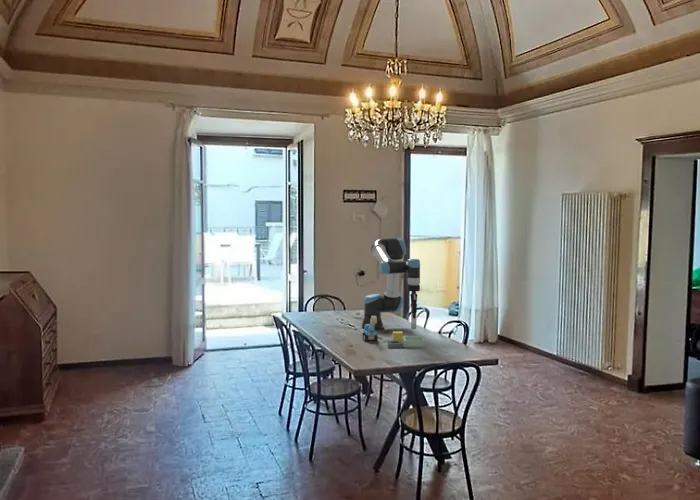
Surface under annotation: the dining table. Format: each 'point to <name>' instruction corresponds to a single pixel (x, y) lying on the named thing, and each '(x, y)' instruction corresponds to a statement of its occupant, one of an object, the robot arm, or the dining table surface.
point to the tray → (413, 342)
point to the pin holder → (395, 344)
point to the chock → (398, 336)
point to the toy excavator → (370, 330)
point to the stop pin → (413, 325)
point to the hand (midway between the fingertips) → (413, 322)
